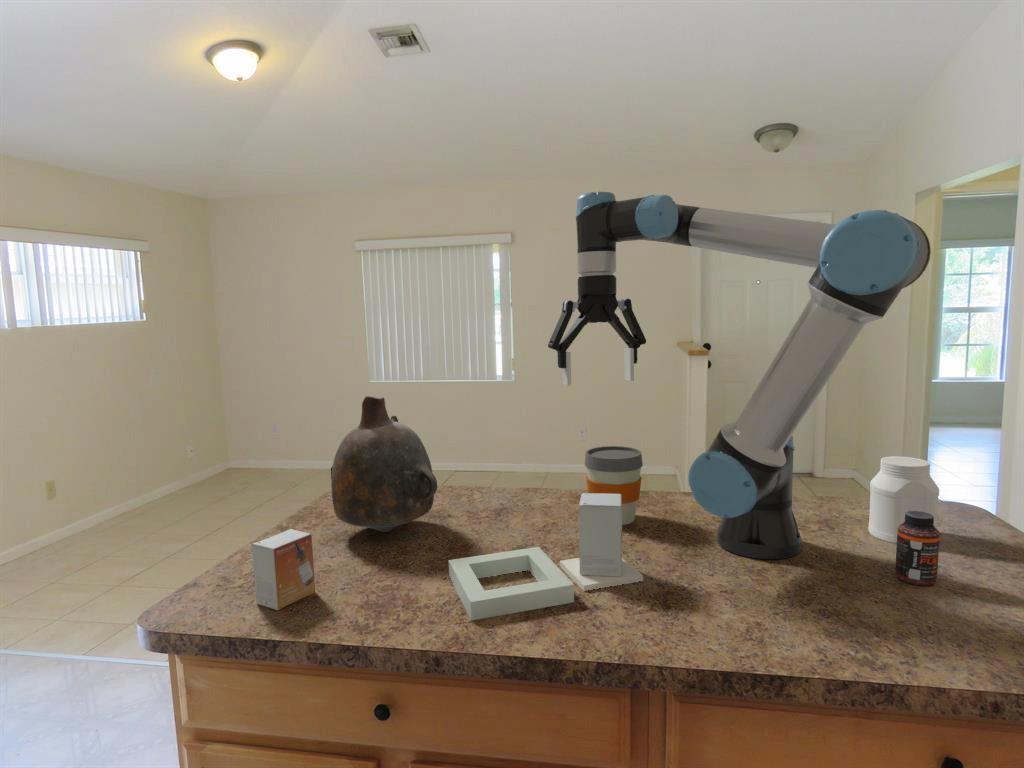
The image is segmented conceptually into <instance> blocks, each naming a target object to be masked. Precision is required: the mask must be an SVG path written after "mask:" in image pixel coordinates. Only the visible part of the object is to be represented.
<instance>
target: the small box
mask: <svg viewBox="0 0 1024 768" xmlns="http://www.w3.org/2000/svg"><path fill="white" fill-rule="evenodd" d="M312 535H313V534H312V533H309V532H305V531H300V530H296V529H293V528H290V529H287V530H286V531H283V532H280V533H277V534H275V535H273V536H270V537H267V538H265V539H262V540H259V541H256V542H253V543H252V544H251V551H252V553H251V554H252V563H253V564H252V565H253V576H254V588H255V589H254V590H255V601H256V604H257V605H260V606H263V607H265V608H269V609H272V610H275V611H280V610H281V609H283V608H285V607H287V606H289V605H291V604H293V603H296V602H299V601H300V600H301V599H304V598H306V597H309V596H311V595H313V594H315V593H316V583H315V582H316V581H315V564H314V552H313V549H314V548H313V536H312Z"/></svg>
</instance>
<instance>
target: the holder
mask: <svg viewBox="0 0 1024 768" xmlns="http://www.w3.org/2000/svg"><path fill="white" fill-rule="evenodd" d="M447 561H448V576H450V577H449V579H450V578H451V579H450V581H451V580H452V581H451V583H452V582H453V583H452V585H453V587H454V586H455V587H454V589H455V591H456V593H457V595H458V597H459V599H460V602H461V603H462V605H463V607H464V609H465V611H466V613H467V615H468V617H469V619H470V621H471V622H473V621H476V620H483V619H488V618H493V617H500V616H505V615H511V614H517V613H521V612H522V613H523V612H528V611H533V610H538V609H543V608H549V607H556V606H561V605H566V604H573V603H575V585H574V583H573V582H572V581H571V579H569V578H568V577H567V576H566V575H565V574H564V572H563V571H562V570H561V569H560V568H559V567H558V566H557V565H556V564H555V563H554V562H553V560H551V558H550V557H549V556H548V555H547V554H546V553H545V552H544V551H543V550H542V549H541V547H540V546H535V547H528V548H520V549H515V550H507V551H502V552H495V553H487V554H481V555H475V556H468V557H467V556H466V557H460V558H455V559H449V560H447ZM527 570H528V571H527ZM522 571H526V572H529V571H530V572H531V573H530V572H529V573H530V575H531V576H532V577H533V576H534V577H535V578H536V579H535V578H534V577H533V578H534V579H535V580H536V581H535V582H528V583H524V584H523V583H522V584H517V585H510V586H505V587H499V588H492V589H487V590H485V589H484V587H483V586H482V584H481V582H480V581H479V579H477V578H481V577H488V578H490V577H489V576H494V575H501V574H507V573H513V574H515V573H514V572H519V573H523V572H522ZM507 575H508V574H507ZM501 576H502V575H501ZM494 577H495V576H494ZM537 581H538V582H537Z"/></svg>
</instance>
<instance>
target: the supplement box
mask: <svg viewBox="0 0 1024 768" xmlns="http://www.w3.org/2000/svg"><path fill="white" fill-rule="evenodd" d="M578 525H579V526H578V535H579V538H578V540H579V541H578V543H579V546H578V547H579V558H580V575H595V576H614V577H621V575H622V559H623V525H622V497H621V494H604V493H588V492H587V493H581V495H580V500H579V503H578Z"/></svg>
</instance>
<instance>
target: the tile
mask: <svg viewBox="0 0 1024 768" xmlns="http://www.w3.org/2000/svg"><path fill="white" fill-rule="evenodd" d="M559 566H560V568H561V569H562V570H563V571H564V572H565V573H566V574H567V576H569V577H570V578H571V579H572V581H573V582H574V583H577V584H578V587H579V588H580V587H581V588H580V589H581V590H582V589H583V590H582V591H583V592H588V590H589V591H593V589H595V590H599V588H601V589H606V588H611V587H610V586H612V587H616V586H617V585H618V586H622V584H624V585H628V584H633V583H634V582H635V583H639V581H641V582H644V575H643V574H642V573H641V572H639V571H638V570H637V569H636V568H634V567H633V566H632V565H631V564H630V563H629V562H627V561H626V560H625V559H623V558H622V575H621V577H614V576H595V575H580V557H574V558H569V559H563V560H559ZM577 584H576V585H577ZM618 586H617V587H618ZM605 587H606V588H605Z"/></svg>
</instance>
